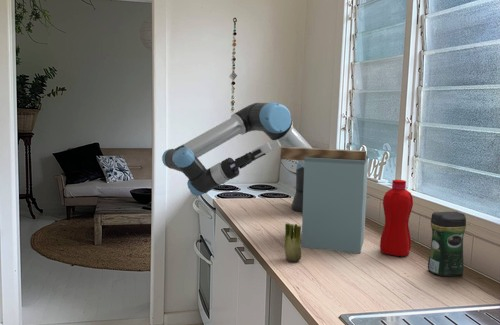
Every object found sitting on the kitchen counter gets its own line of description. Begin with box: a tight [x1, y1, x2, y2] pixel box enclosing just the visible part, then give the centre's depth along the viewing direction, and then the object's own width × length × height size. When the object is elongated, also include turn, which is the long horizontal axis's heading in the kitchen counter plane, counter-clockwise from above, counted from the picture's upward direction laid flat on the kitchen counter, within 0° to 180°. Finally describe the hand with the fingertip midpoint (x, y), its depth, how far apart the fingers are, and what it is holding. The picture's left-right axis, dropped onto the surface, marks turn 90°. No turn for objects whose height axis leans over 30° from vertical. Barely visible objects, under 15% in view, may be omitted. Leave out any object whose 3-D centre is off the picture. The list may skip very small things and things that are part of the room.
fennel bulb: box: [284, 222, 303, 263], centre depth 147 cm, size 6×5×12 cm
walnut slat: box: [280, 146, 367, 163], centre depth 161 cm, size 29×4×4 cm, turn 72°
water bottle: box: [379, 179, 414, 257], centre depth 157 cm, size 9×11×25 cm
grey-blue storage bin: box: [301, 155, 369, 254], centre depth 166 cm, size 18×20×31 cm
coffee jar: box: [427, 211, 467, 277], centre depth 139 cm, size 10×8×19 cm
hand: (274, 144), depth 166 cm, fingers open, 13 cm apart
